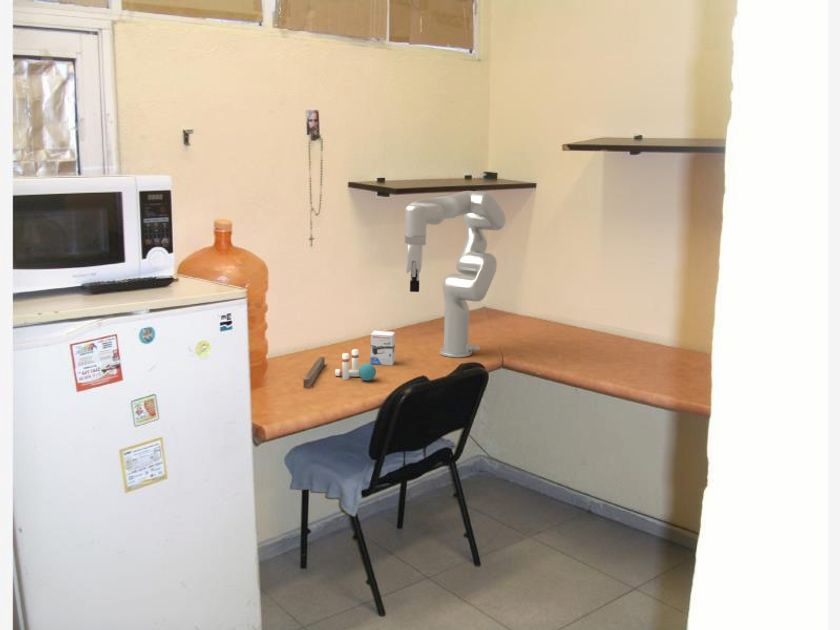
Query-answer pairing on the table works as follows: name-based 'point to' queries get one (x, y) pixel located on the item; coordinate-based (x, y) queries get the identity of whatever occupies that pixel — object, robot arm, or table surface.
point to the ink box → (382, 348)
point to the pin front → (351, 373)
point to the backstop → (313, 372)
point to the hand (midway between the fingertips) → (414, 291)
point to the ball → (367, 372)
